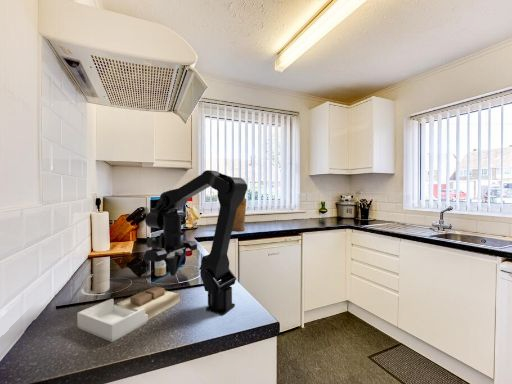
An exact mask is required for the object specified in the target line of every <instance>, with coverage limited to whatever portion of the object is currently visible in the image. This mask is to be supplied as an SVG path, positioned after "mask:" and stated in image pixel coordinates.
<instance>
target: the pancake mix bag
mask: <svg viewBox="0 0 512 384" xmlns="http://www.w3.org/2000/svg"><path fill="white" fill-rule="evenodd" d="M246 207H247V199H246V198H244V199H243V201H242V202H241V204H240V205H239V207H238V208H237V210H236V215H235V220H234V224H233V229H232V231H236V232H245V231H246V228H245V221H246V219H245V218H246V210H247V209H246ZM244 230H245V231H244Z"/></svg>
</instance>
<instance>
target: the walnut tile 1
mask: <svg viewBox="0 0 512 384" xmlns="http://www.w3.org/2000/svg"><path fill="white" fill-rule="evenodd" d="M129 298H130V304H132V305H136V306H139V307H140V306H142V305H144V304H147V303H149V302H151V301H152V296H151V294H148V293H144V291H141V292H138V293H136V294H134V295H132V296H130V297H129Z"/></svg>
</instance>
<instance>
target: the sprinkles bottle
mask: <svg viewBox="0 0 512 384" xmlns="http://www.w3.org/2000/svg"><path fill="white" fill-rule="evenodd" d="M156 249H160V248H156ZM162 250H164V248H162ZM166 266H167V264H166V263H165V261H164V260H162V261H159V262H154V276H156V277H162V276H165V275H167V267H166Z"/></svg>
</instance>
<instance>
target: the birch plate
mask: <svg viewBox="0 0 512 384" xmlns="http://www.w3.org/2000/svg"><path fill="white" fill-rule="evenodd" d="M145 291H146V290H144V291H143V292H144V293H145ZM180 302H181V294H180V293H178V292H172V291H168V290H165V295H163V296H161V297H159V298H157V299H155V300H153V299H152V301H151V302H149V303H147V304H144V305H142V306H140V307H139V306H136V305H132V304H130V297H128V298H126V299H123V300H121V301H118V302H117V303H116V305H118V306H121V307H125V308H128V309H131V310H134V311H138V310H140V309H142V308H145V314H147V315H148V321H149V320H150V319H152V318H154V317H156V316H157V315H159V314H161V313H163V312H164V311H166V310H168V309H170V308H172V307H174V306H176V305H177V304H179V303H180Z"/></svg>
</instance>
